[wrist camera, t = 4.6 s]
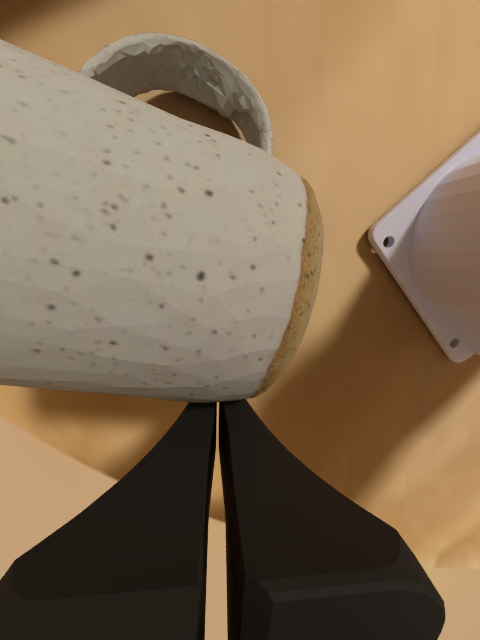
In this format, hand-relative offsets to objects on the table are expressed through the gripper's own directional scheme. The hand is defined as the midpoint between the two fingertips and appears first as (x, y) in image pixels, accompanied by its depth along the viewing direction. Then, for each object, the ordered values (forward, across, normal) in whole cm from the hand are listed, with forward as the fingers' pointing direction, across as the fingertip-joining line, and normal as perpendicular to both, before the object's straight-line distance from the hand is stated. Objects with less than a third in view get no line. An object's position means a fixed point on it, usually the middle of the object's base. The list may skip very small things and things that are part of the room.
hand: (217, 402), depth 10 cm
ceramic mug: (+3, +2, -7) cm, 8 cm away
